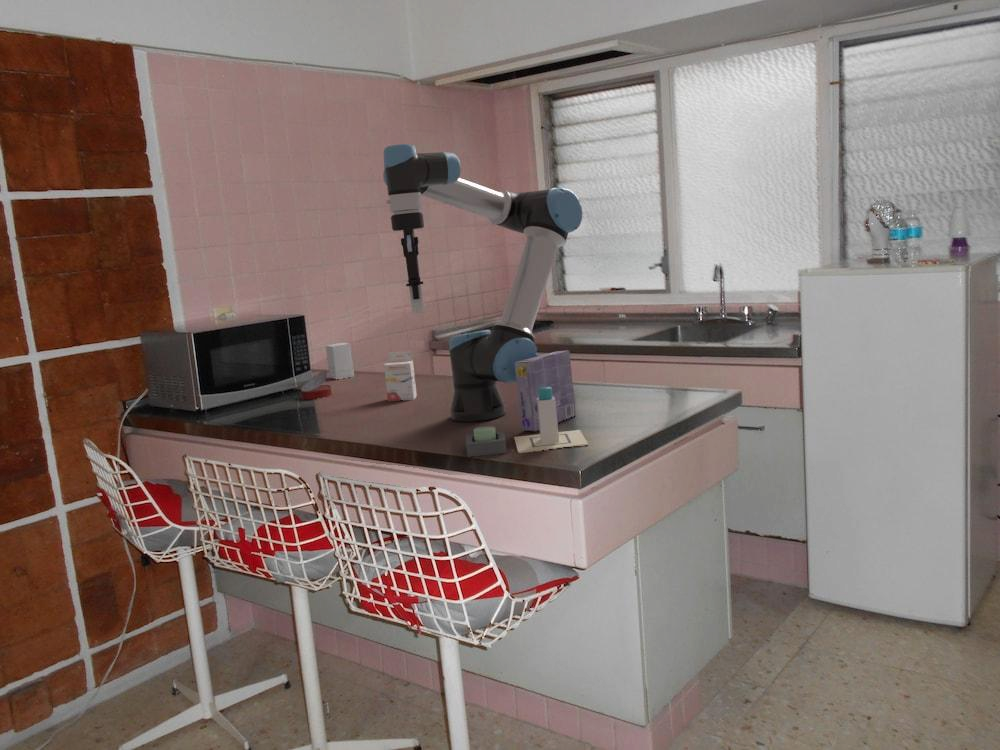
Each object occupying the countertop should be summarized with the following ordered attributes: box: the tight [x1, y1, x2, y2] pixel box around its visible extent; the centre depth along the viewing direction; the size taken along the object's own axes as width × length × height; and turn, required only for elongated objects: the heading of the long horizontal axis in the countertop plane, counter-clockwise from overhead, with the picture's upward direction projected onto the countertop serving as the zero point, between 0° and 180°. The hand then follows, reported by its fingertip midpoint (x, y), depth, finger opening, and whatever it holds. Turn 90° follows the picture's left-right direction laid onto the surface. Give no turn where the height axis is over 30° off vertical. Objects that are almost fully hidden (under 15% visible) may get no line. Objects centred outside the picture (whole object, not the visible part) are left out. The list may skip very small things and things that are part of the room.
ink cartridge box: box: [383, 350, 417, 402], centre depth 279 cm, size 9×5×15 cm, turn 84°
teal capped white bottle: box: [537, 387, 559, 443], centre depth 208 cm, size 4×4×12 cm
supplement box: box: [325, 342, 355, 381], centre depth 333 cm, size 7×7×13 cm
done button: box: [473, 425, 497, 442], centre depth 207 cm, size 5×5×4 cm
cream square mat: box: [513, 429, 589, 454], centre depth 209 cm, size 14×16×1 cm
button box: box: [465, 430, 508, 458], centre depth 207 cm, size 9×9×3 cm
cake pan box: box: [515, 349, 577, 433], centre depth 226 cm, size 19×5×18 cm, turn 141°
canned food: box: [300, 370, 333, 400], centre depth 299 cm, size 11×10×10 cm
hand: (418, 312), depth 213 cm, fingers closed
